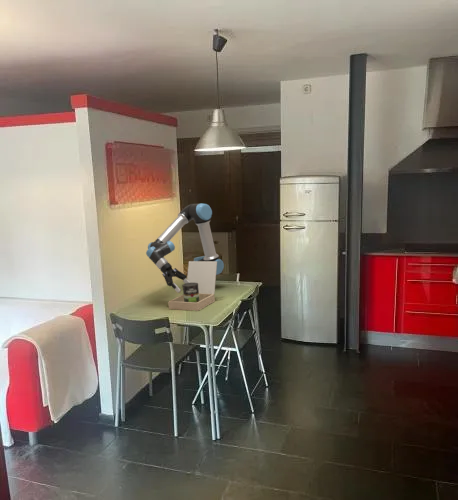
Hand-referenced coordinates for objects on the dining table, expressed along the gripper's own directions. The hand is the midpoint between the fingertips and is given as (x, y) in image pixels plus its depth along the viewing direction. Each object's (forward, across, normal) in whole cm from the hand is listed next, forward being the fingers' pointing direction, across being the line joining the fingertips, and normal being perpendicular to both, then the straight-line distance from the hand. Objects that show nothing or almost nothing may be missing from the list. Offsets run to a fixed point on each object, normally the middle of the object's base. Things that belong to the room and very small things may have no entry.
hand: (185, 289), depth 296 cm
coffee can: (+10, -1, -5) cm, 12 cm away
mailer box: (+10, -5, -5) cm, 13 cm away
